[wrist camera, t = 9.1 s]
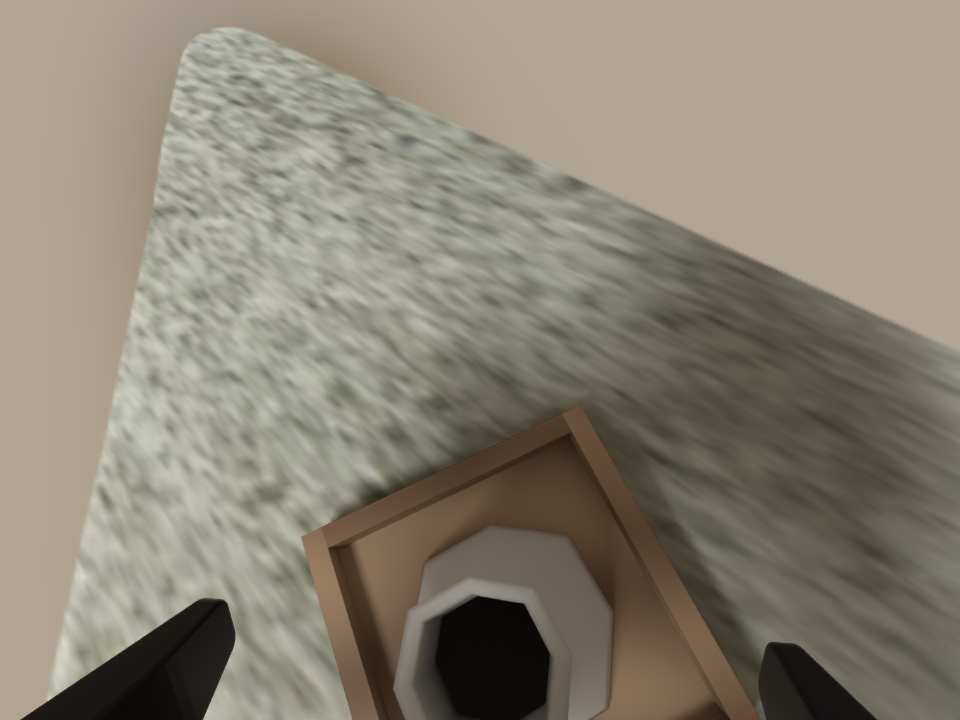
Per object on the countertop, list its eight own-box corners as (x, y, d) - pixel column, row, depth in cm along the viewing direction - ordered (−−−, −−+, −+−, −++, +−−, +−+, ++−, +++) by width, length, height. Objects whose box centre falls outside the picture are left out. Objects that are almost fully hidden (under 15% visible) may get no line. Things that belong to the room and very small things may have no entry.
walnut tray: (748, 722, 17) (771, 737, 15) (425, 898, 16) (412, 934, 14) (577, 418, 22) (580, 405, 20) (320, 540, 21) (301, 536, 19)
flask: (422, 775, 17) (282, 1000, 8) (398, 542, 20) (278, 502, 11) (643, 735, 16) (773, 915, 7) (585, 505, 20) (628, 434, 10)
